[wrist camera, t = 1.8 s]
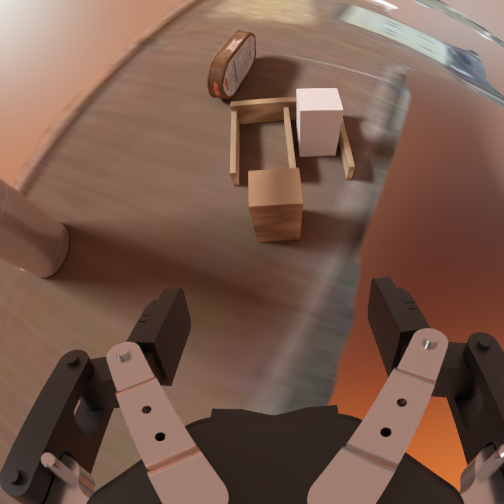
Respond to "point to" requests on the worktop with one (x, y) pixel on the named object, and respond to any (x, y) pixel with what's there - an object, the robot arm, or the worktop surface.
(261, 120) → the rack
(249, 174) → the tan block
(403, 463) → the robot arm
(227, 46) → the tin
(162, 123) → the worktop surface
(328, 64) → the worktop surface
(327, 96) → the white block
